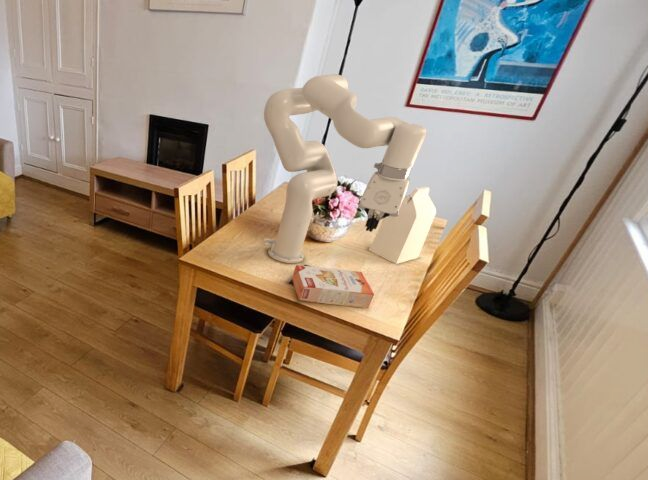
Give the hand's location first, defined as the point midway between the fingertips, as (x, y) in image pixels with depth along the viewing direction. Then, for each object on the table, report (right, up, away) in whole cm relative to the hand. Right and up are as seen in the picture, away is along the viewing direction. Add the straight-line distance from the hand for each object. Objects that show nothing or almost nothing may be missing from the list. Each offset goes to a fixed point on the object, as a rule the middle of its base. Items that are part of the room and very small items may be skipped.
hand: (369, 229), depth 137 cm
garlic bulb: (+46, +16, +64) cm, 80 cm away
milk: (+30, -4, +34) cm, 45 cm away
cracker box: (+3, -18, +7) cm, 20 cm away
